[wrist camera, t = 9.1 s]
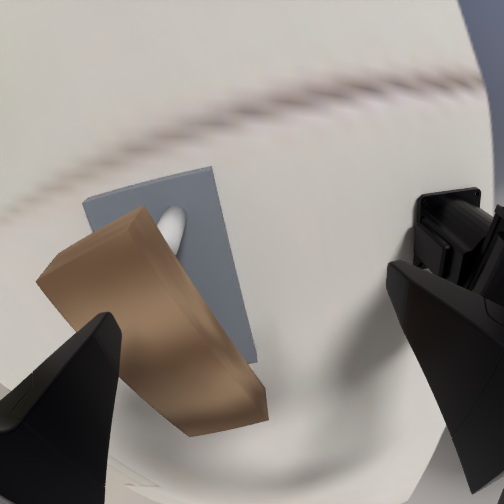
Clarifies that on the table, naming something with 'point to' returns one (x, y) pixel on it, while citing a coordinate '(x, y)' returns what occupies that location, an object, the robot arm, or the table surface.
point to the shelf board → (157, 326)
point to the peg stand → (188, 240)
